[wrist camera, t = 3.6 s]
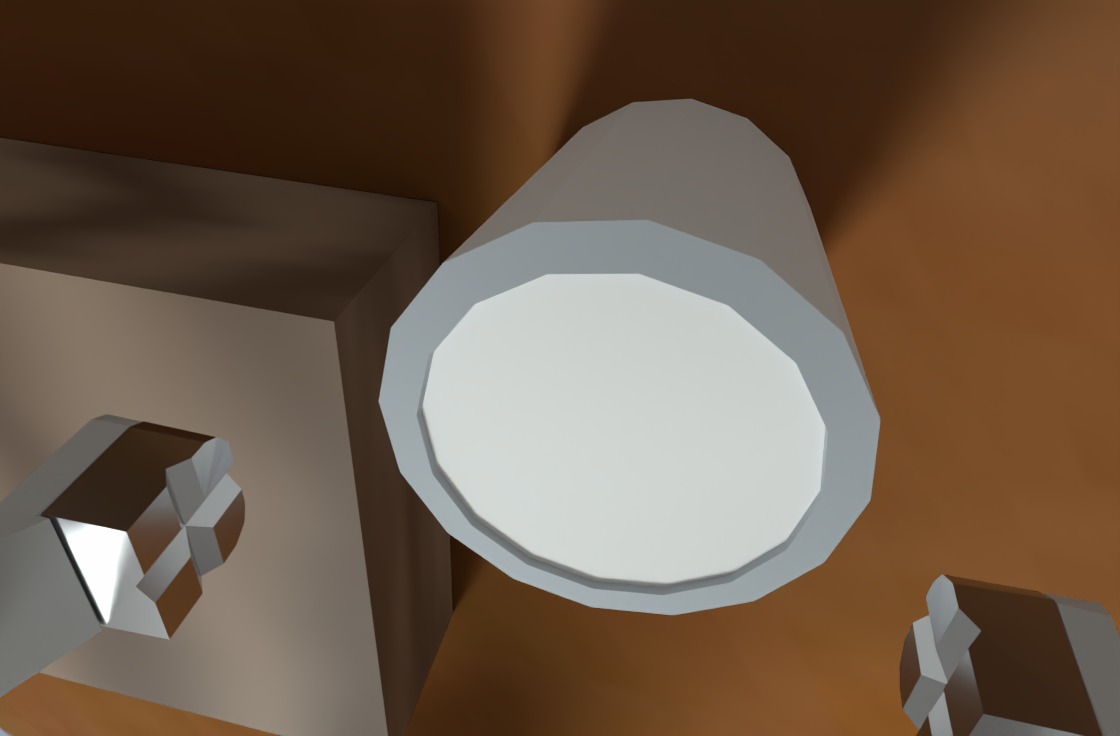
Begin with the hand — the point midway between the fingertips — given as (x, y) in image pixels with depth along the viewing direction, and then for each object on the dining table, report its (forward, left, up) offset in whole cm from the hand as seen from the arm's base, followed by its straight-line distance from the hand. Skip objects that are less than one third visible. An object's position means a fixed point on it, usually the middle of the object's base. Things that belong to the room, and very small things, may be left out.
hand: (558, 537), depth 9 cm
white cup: (0, 0, -9) cm, 9 cm away
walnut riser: (+12, +7, -9) cm, 16 cm away
